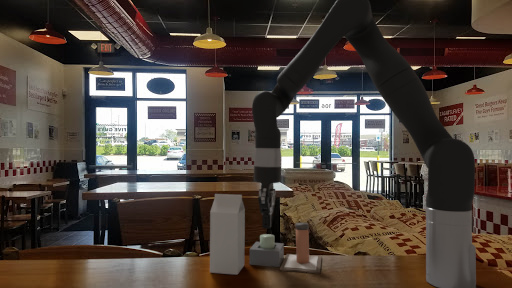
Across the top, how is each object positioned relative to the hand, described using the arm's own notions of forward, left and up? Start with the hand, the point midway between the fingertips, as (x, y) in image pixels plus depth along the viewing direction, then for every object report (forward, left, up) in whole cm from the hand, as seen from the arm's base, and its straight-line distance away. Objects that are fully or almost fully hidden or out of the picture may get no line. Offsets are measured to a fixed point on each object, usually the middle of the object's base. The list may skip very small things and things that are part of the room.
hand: (266, 227), depth 95 cm
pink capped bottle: (-10, 0, -8) cm, 13 cm away
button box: (0, 0, -9) cm, 9 cm away
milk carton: (+8, +9, -9) cm, 15 cm away
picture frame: (-10, 0, -9) cm, 13 cm away
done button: (0, 0, -7) cm, 7 cm away
